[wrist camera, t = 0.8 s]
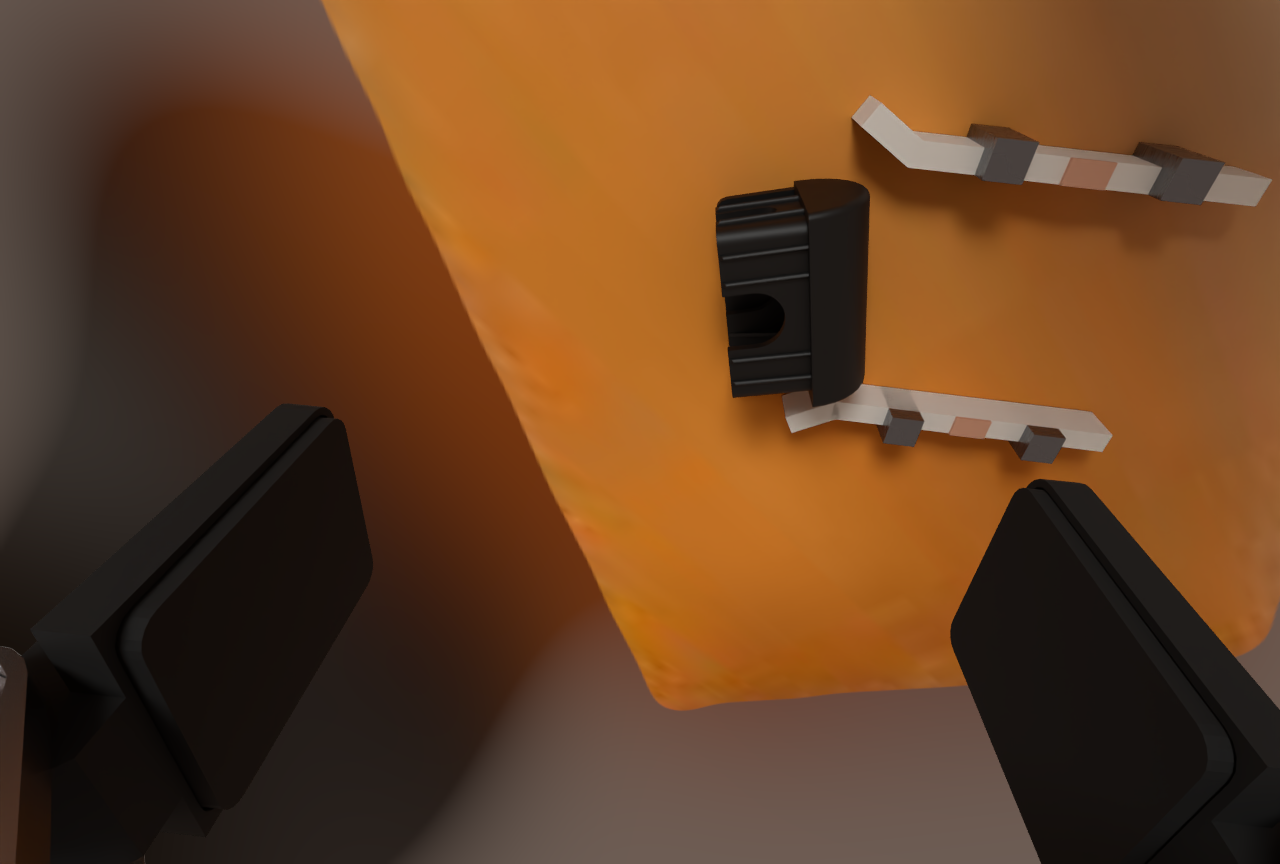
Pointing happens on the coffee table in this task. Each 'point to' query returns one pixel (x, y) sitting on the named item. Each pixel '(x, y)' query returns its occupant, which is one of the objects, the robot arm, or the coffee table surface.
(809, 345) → the end cap
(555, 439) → the coffee table surface
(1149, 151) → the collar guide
